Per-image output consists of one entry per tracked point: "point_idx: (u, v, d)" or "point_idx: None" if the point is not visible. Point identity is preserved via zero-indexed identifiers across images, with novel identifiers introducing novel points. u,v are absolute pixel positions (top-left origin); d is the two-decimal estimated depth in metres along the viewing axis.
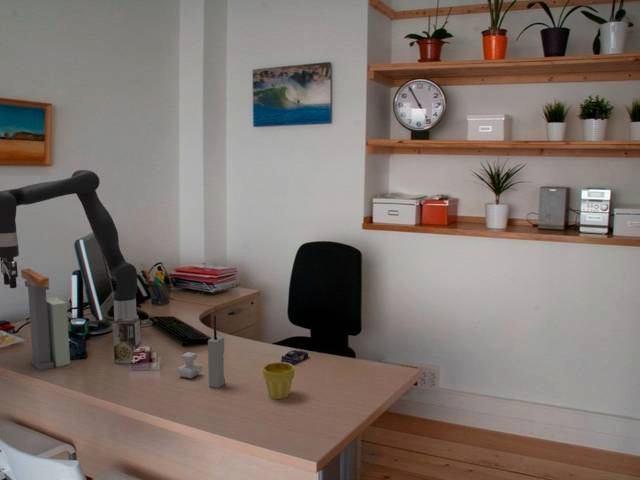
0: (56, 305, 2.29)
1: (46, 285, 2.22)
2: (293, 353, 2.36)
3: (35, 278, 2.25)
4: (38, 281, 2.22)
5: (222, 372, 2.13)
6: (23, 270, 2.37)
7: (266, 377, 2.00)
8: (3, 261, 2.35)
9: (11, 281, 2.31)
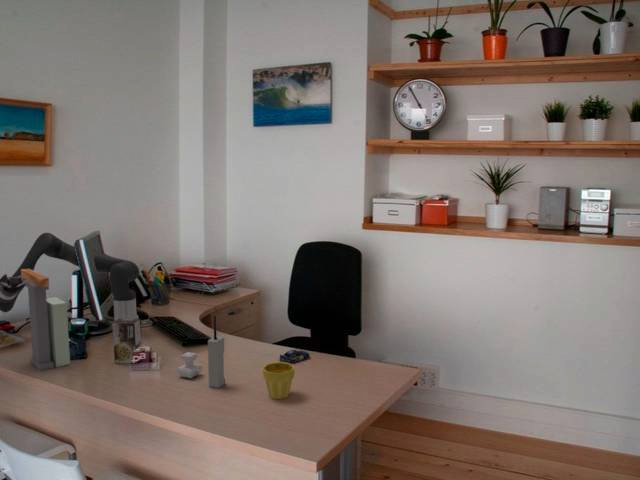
0: (56, 305, 2.29)
1: (46, 285, 2.22)
2: (292, 353, 2.37)
3: (35, 278, 2.25)
4: (38, 281, 2.22)
5: (222, 372, 2.13)
6: (23, 270, 2.37)
7: (266, 377, 2.00)
8: (20, 284, 2.56)
9: (2, 280, 2.47)
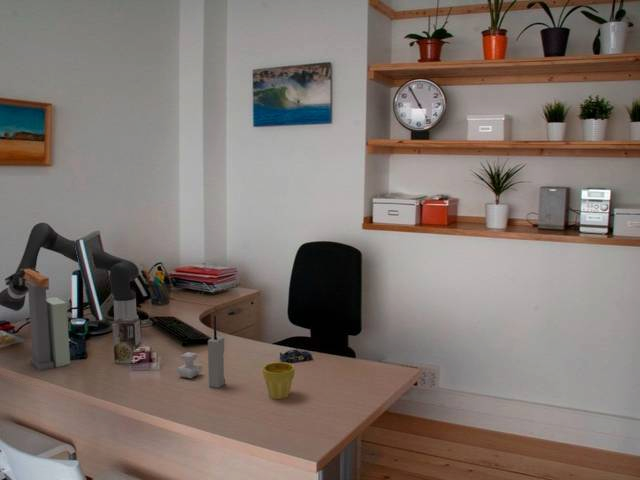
0: (56, 305, 2.29)
1: (46, 285, 2.22)
2: (291, 352, 2.38)
3: (35, 278, 2.25)
4: (38, 281, 2.22)
5: (222, 372, 2.13)
6: None
7: (266, 377, 2.00)
8: None
9: (19, 276, 2.36)
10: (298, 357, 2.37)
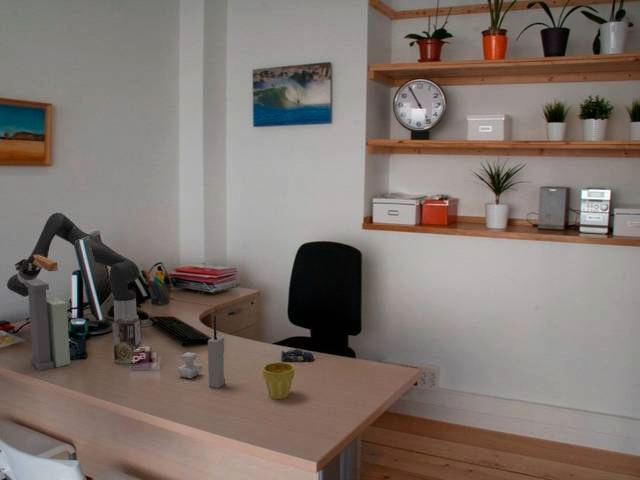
0: (56, 305, 2.29)
1: (55, 269, 2.32)
2: (291, 351, 2.38)
3: (44, 263, 2.34)
4: (47, 265, 2.32)
5: (222, 372, 2.13)
6: None
7: (266, 377, 2.00)
8: (40, 267, 2.54)
9: (29, 261, 2.45)
10: (297, 357, 2.37)
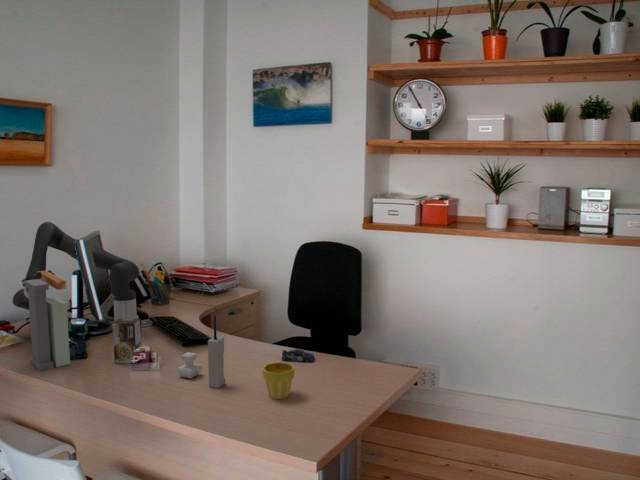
0: (56, 305, 2.29)
1: (63, 288, 2.26)
2: (291, 351, 2.39)
3: (52, 280, 2.29)
4: (55, 284, 2.26)
5: (222, 372, 2.13)
6: None
7: (266, 377, 2.00)
8: None
9: (36, 278, 2.40)
10: (297, 357, 2.37)
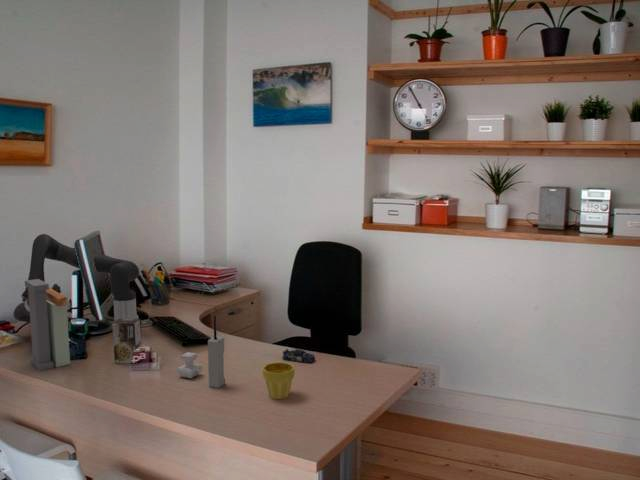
0: (56, 305, 2.29)
1: (64, 304, 2.27)
2: (292, 351, 2.39)
3: (53, 297, 2.30)
4: (56, 300, 2.27)
5: (222, 372, 2.13)
6: None
7: (266, 377, 2.00)
8: None
9: None
10: (296, 357, 2.37)
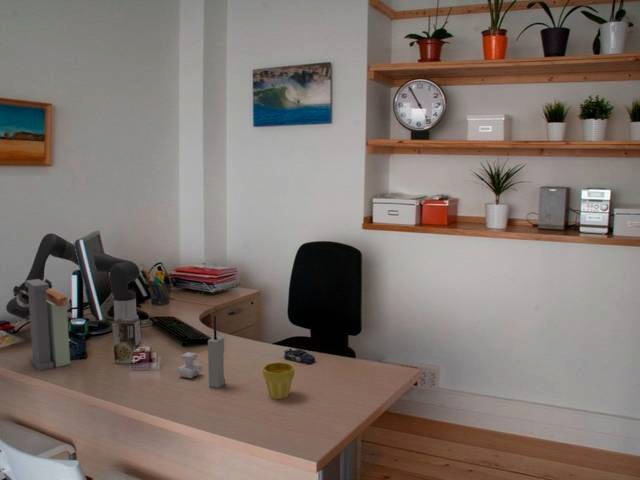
0: (56, 305, 2.29)
1: (64, 304, 2.27)
2: (293, 350, 2.40)
3: (53, 297, 2.30)
4: (56, 300, 2.27)
5: (222, 372, 2.13)
6: None
7: (266, 377, 2.00)
8: None
9: (21, 288, 2.49)
10: (295, 357, 2.37)
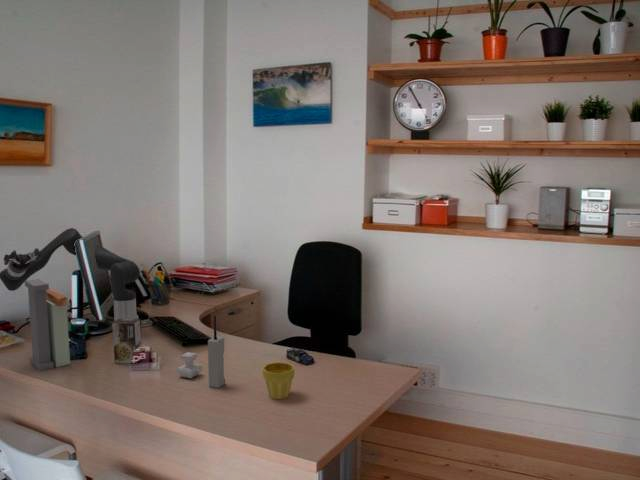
0: (56, 305, 2.29)
1: (64, 304, 2.27)
2: (294, 350, 2.40)
3: (53, 297, 2.30)
4: (56, 300, 2.27)
5: (222, 372, 2.13)
6: None
7: (266, 377, 2.00)
8: (28, 261, 2.66)
9: (11, 256, 2.56)
10: (295, 357, 2.37)
